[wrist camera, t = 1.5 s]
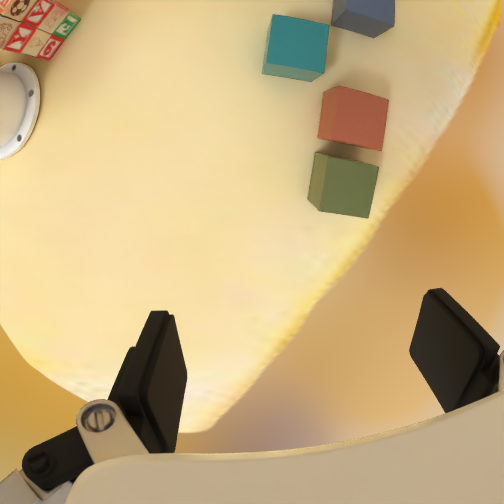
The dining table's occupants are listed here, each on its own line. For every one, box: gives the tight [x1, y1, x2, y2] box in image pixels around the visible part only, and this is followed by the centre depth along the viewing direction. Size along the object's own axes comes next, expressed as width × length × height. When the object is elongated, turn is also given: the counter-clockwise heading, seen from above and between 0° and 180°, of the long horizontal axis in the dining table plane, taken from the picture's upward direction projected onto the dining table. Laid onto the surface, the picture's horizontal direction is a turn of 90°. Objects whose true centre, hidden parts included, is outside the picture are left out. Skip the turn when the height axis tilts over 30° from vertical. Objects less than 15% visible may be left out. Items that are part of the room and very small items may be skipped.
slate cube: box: [331, 0, 395, 38], centre depth 21 cm, size 5×5×5 cm
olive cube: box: [308, 153, 379, 218], centre depth 28 cm, size 5×5×5 cm
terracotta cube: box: [317, 86, 389, 151], centre depth 26 cm, size 5×5×5 cm
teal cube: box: [262, 14, 329, 82], centre depth 23 cm, size 5×5×5 cm
